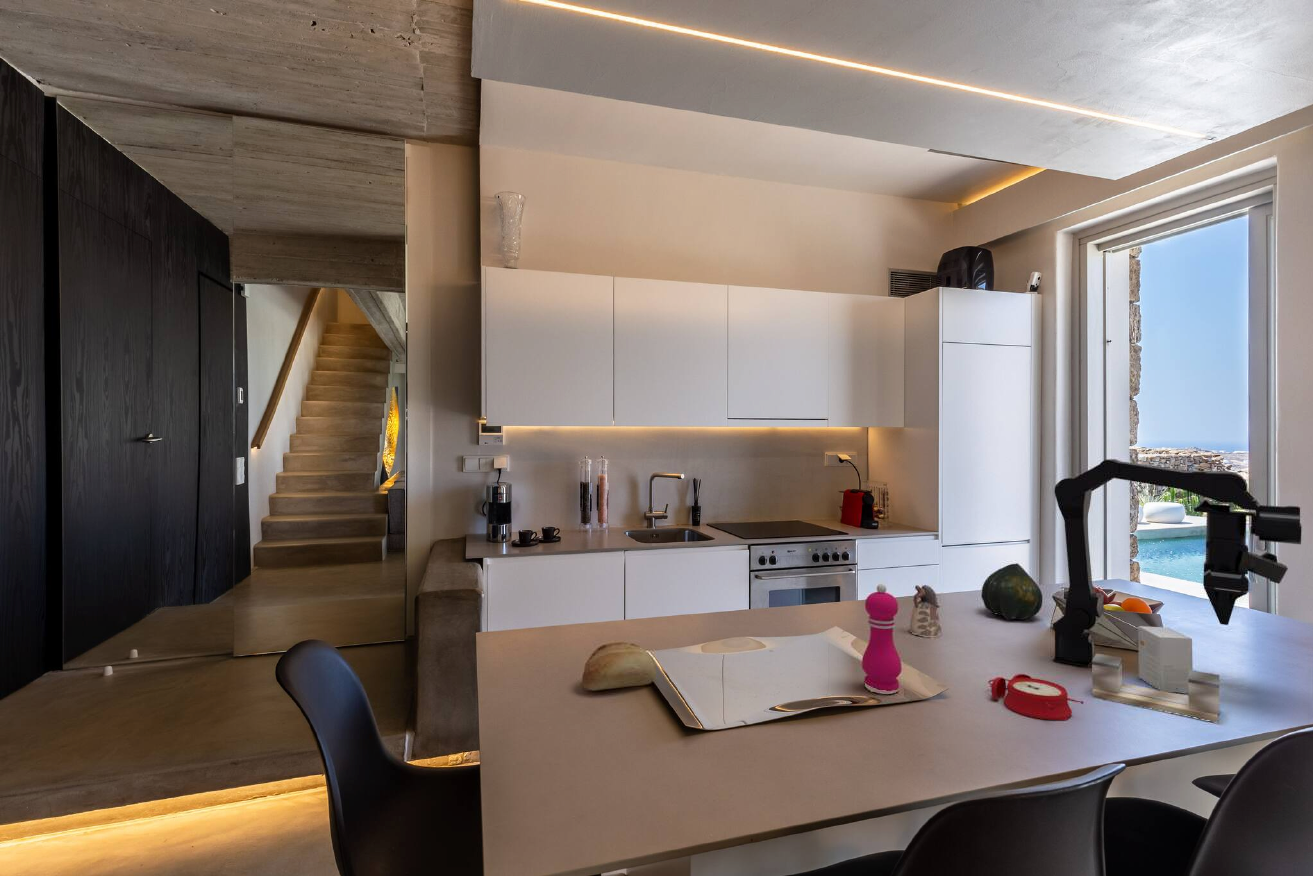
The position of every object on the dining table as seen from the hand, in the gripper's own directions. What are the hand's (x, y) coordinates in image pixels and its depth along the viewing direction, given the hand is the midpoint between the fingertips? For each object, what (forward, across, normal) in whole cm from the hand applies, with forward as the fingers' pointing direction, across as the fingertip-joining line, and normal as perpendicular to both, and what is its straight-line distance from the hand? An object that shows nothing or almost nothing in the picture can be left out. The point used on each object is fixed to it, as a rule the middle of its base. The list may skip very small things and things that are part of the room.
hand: (1223, 619), depth 124 cm
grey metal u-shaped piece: (+14, -16, +10) cm, 23 cm away
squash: (+15, +34, +43) cm, 57 cm away
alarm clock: (+15, -32, +27) cm, 44 cm away
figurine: (+15, +2, +55) cm, 57 cm away
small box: (+14, -4, +8) cm, 17 cm away
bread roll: (+16, -73, +89) cm, 116 cm away
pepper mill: (+15, -41, +50) cm, 66 cm away
